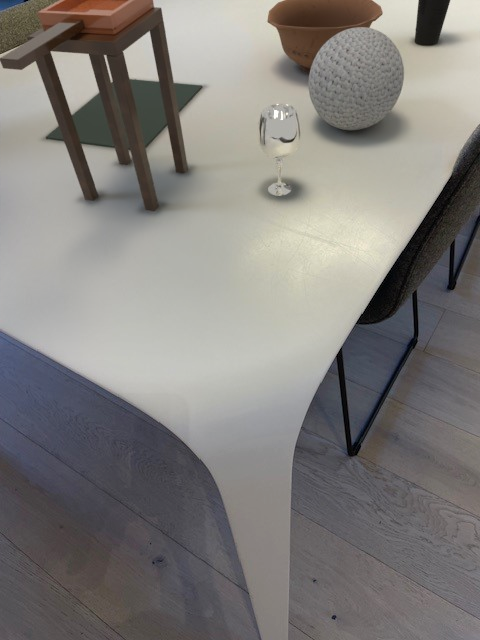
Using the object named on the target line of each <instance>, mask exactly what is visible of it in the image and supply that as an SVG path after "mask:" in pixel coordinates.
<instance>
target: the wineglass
mask: <svg viewBox="0 0 480 640" xmlns="http://www.w3.org/2000/svg"><path fill="white" fill-rule="evenodd" d="M300 126H301V125H300V121H299V116H298V112H297V109H296V107H295V106H293V105H291V104H288V103H273V104H269V105H266V106H264V107H263V108H262V109H261V111H260V116H259V120H258V126H257V142H258V146H259V149H260V151H261V152H262V153H263V154H264V155H265V156H267V157H268V158H271V159H275V165H276V170H277V182H274V183H272V184H271V185H269V186H268V188H267V191H268V193H269V194H270V195H273V196H277V197H278V196H279V197H281V196H285V195H288V194H290V193H291V192H292V186H291V185H290V184H288V183H287V182H282V168H283V164H284V161H283V159H285V158H288V157H290V156H292V155H294V154H295V152H296V151H297V149H298V148H299V145H300V141H301V127H300Z"/></svg>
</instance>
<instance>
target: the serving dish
mask: <svg viewBox="0 0 480 640" xmlns="http://www.w3.org/2000/svg"><path fill="white" fill-rule="evenodd" d="M154 4H155V3H154V0H57V1H56V2H54V3H52V4H50V5H48V6H47V7H45V8H43V9H41V10H39V11H37V15H38V18H39V22H40V24H41V28H43V30H44V32H43V33H41V34H39V35H38V36H36V37H34V38H33V39H31V40H29V41H28V40H27V41H26V42H25V43H23V44H21V45H19V46H18V47H15V49H13V50H10V51H9V52H8V53H6V54H4V55H3V56H1V57H0V64H1V67H2V68H3V69H6V70H18V71H22V70H24V69H26V68H27V67H28V66H30V65H32V64H33V63H36V60H38V59H39V58H41V57H42V56H44V55H46V54H47V53H49V52H53V51H52V50H53V49H55V48H56V47H58V46H59V45H61V44H62V43H64V42H66V41H67V40H69V39H70V38H72V37H73V36H75V35H76V34H78V33H90V34H107V35H115V34H117V33H118V32H120V31H121V30H122V29H124V28H125V27H127V26H128V25H129V24H131V23H132V22H134V21H135V20H136V19H138V18H139V17H141V16H142V15H143V14H145V13H146V12H148V11H149V10H151V9H152V8H153V7H155V5H154Z"/></svg>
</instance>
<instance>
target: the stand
mask: <svg viewBox="0 0 480 640" xmlns="http://www.w3.org/2000/svg"><path fill="white" fill-rule="evenodd" d="M43 32H44V30H43V27H41V28H39V29H37V30H36V31H34V32H32V33H31V34H29V35H27V37H26V38H27V42H28V41H29V40H31V39H33V38H34V37H36V36H38V35H39V34H41V33H43ZM148 33H149V35H150V36H149V37H150V39H151V45H152V51H153V56H154V62H155V67H156V73H157V77H158V82H159V84H160V89H161V94H162V100H163V105H164V110H165V116H166V121H167V126H166V127H167V131H168V137H169V142H170V147H171V153H172V159H173V163H174V168H175V169H174V170H175V172H176V173H179V174H185V173H186V172H187V171H188V169H189V166H188V160H187V154H186V148H185V142H184V136H183V129H182V124H181V123H182V122H181V118H180V112H179V111H178V105H177V99H176V93H175V87H174V83H175V82H174V76H173V70H172V69H173V68H172V64H171V58H170V52H169V51H170V50H169V47H168V39H167V34H166V33H167V32H166V27H165V22H164V17H163V9H162V7H156V6H154V7H153V8H152V9H151V10H149V11H148V12H146V13H145V14H143V15H142V16H141V17H139V18H138V19H136V20H135V21H134V22H132V23H131V24H129V25H128V26H127V27H125V28H124V29H122V30H121V31H120V32H118V33H117V34H115V35H107V34H90V33H78V34H76V35H75V36H73V37H72V38H70V39H69V40H67V41H66V42H64V43H62V44H61V45H59V46H58V47H56V48H55V49H53V50H52V51H50V52H49V53H47V54H46V55H44V56H42V57H41V58H39V59H38V60H36V61H35V63H36V66H37V70H38V72H39V75H40V77H41V78H40V79H41V81H42V84H43V86H44V88H45V92H46V95H47V97H48V100H49V102H50V105H51V108H52V111H53V113H54V117H55V119H56V122H57V125H58V126H59V128H60V131H61V134H62V136H63V139H64V141H63V142H64V144H65V145H64V146H65V147H66V150H67V153H68V156H69V159H70V161H71V164H72V167H73V170H74V172H75V175H76V178H77V181H78V184H79V186H80V189H81V192H82V195H83V198H84V200H85V201H92V202H94V201H95V200H96V198H98V196H99V193H98V191H97V188H96V185H95V182H94V178H93V176H92V172H91V169H90V166H89V163H88V160H87V158H86V154H85V152H84V148H83V144H81V142H80V139H79V136H78V133H77V130H76V127H75V124H74V121H73V118H72V115H73V114H72V112H71V109H70V106H69V103H68V99H67V97H66V94H65V90H64V89H63V85H62V82H61V79H60V75H59V73H58V70H57V67H56V63H55V61H54V58H53V55H52V52H56V53H69V54H82V55H83V54H84V55H88V57H89V61H90V65H91V67H92V72H93V75H94V78H95V82H96V86H97V89H98V93H100V97H101V100H102V104H103V107H104V111H105V114H106V118H107V122H108V125H109V129H110V132H111V136H112V139H113V143H114V147H115V148H114V150H115V153H116V158H117V160H118V165H122V166H123V165H125V166H127V165H129V163H130V162H131V161H132V162H133V167H134V171H135V175H136V179H137V182H138V186H139V190H140V194H141V198H142V201H143V206H144V209H145V210H146V211H148V212H149V211H151V212H155V211H156V210H157V208H158V207H159V206H160V205H159V202H158V196H157V192H156V187H155V184H154V183H155V182H154V179H153V175H152V171H151V167H150V166H151V165H150V162H149V157H148V153H147V147H146V148H145V144H144V140H143V135H142V131H141V127H140V122H139V118H138V114H137V109H136V105H135V100H134V96H133V92H132V87H131V83H130V79H131V78H130V75H129V70H128V67H127V61H126V57H125V53H124V51H126V50H127V49H128V48H129V47H131V46H132V45H133V44H135V43H136V42H137V41H139V40H140V39H141V38H142V37H145V35H146V34H148ZM106 61H107V62H106ZM109 72H110V73H109ZM110 76H111V77H110ZM112 82H113V84H114V88H115V92H116V96H117V100H118V104H119V108H120V112H121V116H122V120H123V124H124V127H125V131H126V135H127V139H128V143H129V147H130V150H128V146H127V142H126V138H125V135H124V131H123V127H122V123H121V119H120V115H119V111H118V107H117V104H116V100H115V96H114V92H113V88H112V84H111V83H112ZM130 154H131V155H130Z"/></svg>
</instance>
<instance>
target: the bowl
mask: <svg viewBox="0 0 480 640" xmlns="http://www.w3.org/2000/svg"><path fill="white" fill-rule="evenodd" d="M383 13H384V12H383V9H382V7H381V5H379V4H378V3H376V1H374V0H281V1H279V2H277V3H276V4H275V5H273V6H272V8H271V9H269V10H268V13H267V23H268V24H270V25H271V26H272V27H274V28H275V29H276V30H277V33H278V36H279V39H280V44H281V46H282V49H283V53H284V54H285V55H286V56H287V57H288V58H289V59H290V60H292V61H293V62H294V63H295V64H297V65H299V69H300V71H301V72H302V73H304V74H307V75H309V74H310V70H311V66H312V64H313V61H314V59H315V57H316V55H317V53H318V51H319V50H320V49H321V47H322V46H323V45H324V44H325V43H326V42H327V41H328V40H329V39H330V38H332V37H333V36H335V35H336V34H338V33H340V32H342V31H344V30H347V29H350V28H356V27H367V28H371V25H372V24H373V22H376V21H377V20H378V19H379V18H380V17H381V16H383Z"/></svg>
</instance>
